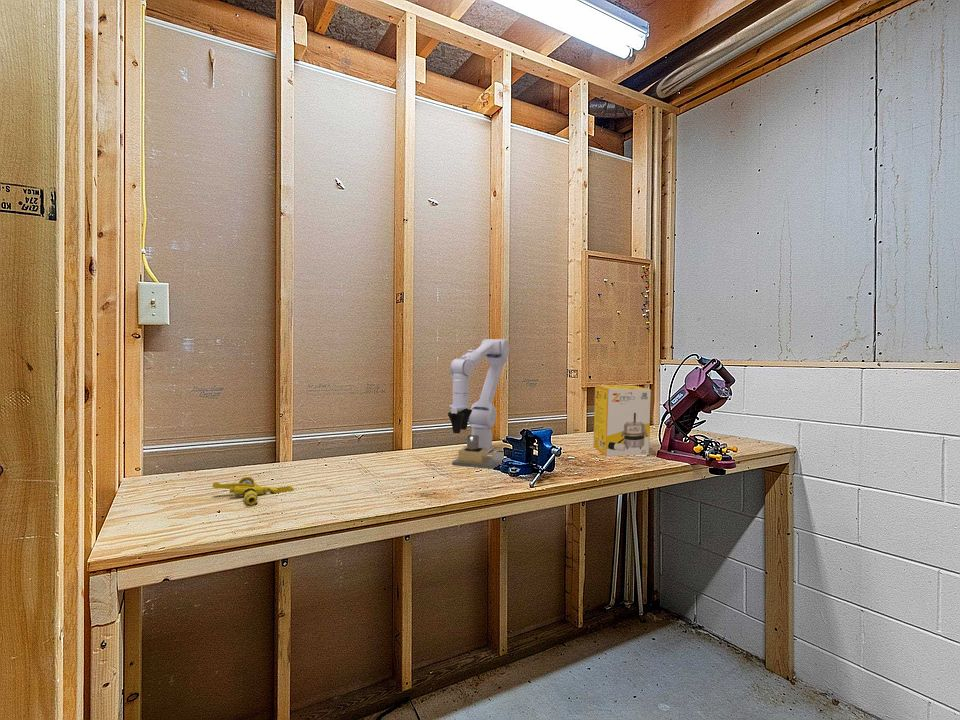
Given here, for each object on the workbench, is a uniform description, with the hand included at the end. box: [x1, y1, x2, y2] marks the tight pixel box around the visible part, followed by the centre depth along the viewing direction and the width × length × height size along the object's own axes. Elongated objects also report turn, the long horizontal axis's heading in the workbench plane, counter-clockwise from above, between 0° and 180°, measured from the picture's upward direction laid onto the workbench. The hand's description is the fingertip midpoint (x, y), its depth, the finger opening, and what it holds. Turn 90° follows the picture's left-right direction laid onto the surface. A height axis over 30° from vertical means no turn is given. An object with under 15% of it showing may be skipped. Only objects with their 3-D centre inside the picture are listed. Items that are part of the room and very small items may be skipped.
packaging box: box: [593, 384, 652, 457], centre depth 193 cm, size 16×16×25 cm
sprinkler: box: [211, 476, 294, 506], centre depth 129 cm, size 19×4×15 cm
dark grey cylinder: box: [466, 434, 479, 452], centre depth 171 cm, size 4×4×8 cm
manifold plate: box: [452, 445, 504, 470], centre depth 170 cm, size 12×18×4 cm, turn 75°
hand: (459, 431), depth 177 cm, fingers open, 7 cm apart
